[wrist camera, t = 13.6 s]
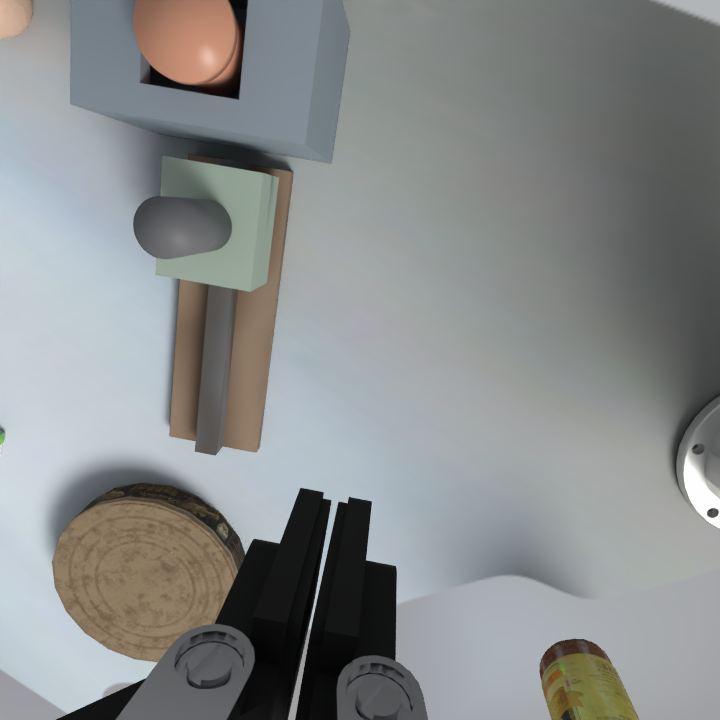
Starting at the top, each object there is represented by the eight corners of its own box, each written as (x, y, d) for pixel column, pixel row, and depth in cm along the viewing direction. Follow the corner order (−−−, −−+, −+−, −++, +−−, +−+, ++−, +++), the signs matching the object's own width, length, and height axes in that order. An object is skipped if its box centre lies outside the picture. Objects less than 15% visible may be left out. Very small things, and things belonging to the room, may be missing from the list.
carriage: (279, 177, 34) (230, 163, 24) (266, 283, 36) (216, 309, 26) (189, 162, 34) (105, 141, 24) (182, 267, 36) (101, 288, 26)
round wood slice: (165, 663, 49) (150, 691, 46) (38, 547, 46) (14, 570, 43) (287, 576, 45) (279, 601, 42) (156, 445, 42) (138, 462, 40)
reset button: (264, 14, 27) (236, -26, 23) (255, 108, 29) (227, 88, 24) (179, 0, 27) (135, -43, 23) (174, 95, 29) (130, 72, 24)
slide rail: (293, 172, 35) (285, 169, 33) (259, 447, 41) (250, 462, 39) (194, 155, 36) (178, 150, 33) (174, 430, 42) (160, 444, 39)
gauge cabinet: (350, 31, 33) (329, -44, 23) (331, 163, 35) (305, 144, 26) (154, -2, 33) (54, -89, 24) (148, 131, 35) (54, 101, 26)
